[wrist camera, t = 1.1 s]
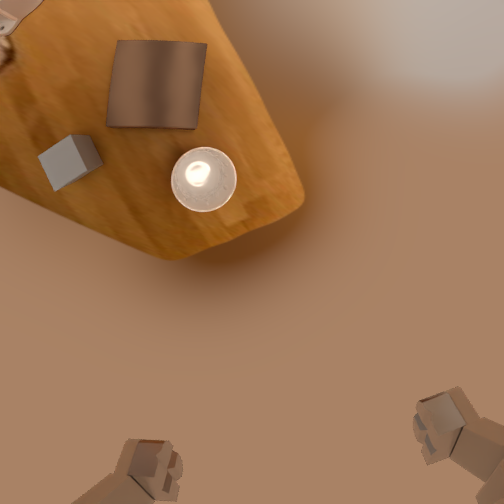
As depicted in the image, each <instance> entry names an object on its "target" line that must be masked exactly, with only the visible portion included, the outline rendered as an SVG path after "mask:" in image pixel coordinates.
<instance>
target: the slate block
mask: <svg viewBox="0 0 504 504" xmlns="http://www.w3.org/2000/svg"><path fill="white" fill-rule="evenodd" d="M38 158H39V160H40V162H41V164H42V166H43V169H44V171H45V173H46V175H47V177H48V179H49V181H50V183H51V185H52V187H53V189H54V191H57V190H59V189H61V188H63V187H65V186H67V185H69V184H71V183H73V182H75V181H77V180H78V179H80V178H82V177H83V176H85V175H86V174H88V173H90V172H91V171H93V170H95V169H96V168H98V167H100V166H101V165H103V162H102V160H101V158H100V156H99V154H98V152H97V150H96V148H95V146H94V144H93V142H92V139H91V137H90V135H69V136H67V137H66V138H64V139H63V140H61V141H60V142H58V143H57V144H55V145H54V146H52V147H51V148H49V149H48V150H47V151H45V152H44V153H42V154H41V155H39V156H38Z"/></svg>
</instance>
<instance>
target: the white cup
mask: <svg viewBox="0 0 504 504" xmlns="http://www.w3.org/2000/svg"><path fill="white" fill-rule="evenodd" d="M236 182H237V175H236V170H235V167H234V165H233V163H232V161H231V160H230V158H229V157H228V156H227V155H226V154H224V153H223V152H221V151H220V150H218V149H215V148H211V147H199V148H195V149H191V150H189V151H187V152H185V153H184V154H182V155H181V156H180V157H179V159H178V160H177V161H176V163H175V165H174V168H173V171H172V175H171V186H172V190H173V193H174V195H175V197H176V198H177V200H178V201H179V202H180V203H181V204H182V205H183V206H185V207H186V208H188V209H190V210H193V211H197V212H208V211H213V210H216V209H218V208H220V207H221V206H223V205H224V204H225V203H226V202H227V201H228V200H229V199H230V198H231V196H232V194H233V192H234V190H235V187H236Z"/></svg>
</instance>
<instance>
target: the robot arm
mask: <svg viewBox="0 0 504 504" xmlns="http://www.w3.org/2000/svg"><path fill="white" fill-rule="evenodd" d="M42 1H43V0H0V36H6V35H9V34H11V33H12V32H13V31H14V30H15V28H16V27H17V26H18V24H19V23H20V22H21V20H22V19H23V18H24V17H25V16H27V15H28V14H29V13H30V12H32V11H33V10H34V9H35V8H36V7H37V6H38V5H39V4H40V3H41V2H42ZM3 27H4V29H3ZM2 29H3V30H2ZM416 410H417V412H418V413H417V414H416V415H415V416H414V419H413V430H414V433H415V437H416V439H417V441H418V442H420V443H422V444H423V447H422V450H421V452H422V454H423V456H424V459H425V461H426V464H427V465H430V464H433V463H435V462H438V461H441V460H443V459H446V458H448V457H450V459H451V460H453V461H454V462H456V463H457V464H459V465H460V466H461V467H463V468H464V469H466V470H467V471H469V472H471V473H472V474H473V475H475V476H476V477H478V478H479V479H481V480H482V481H484V482H485V484H484V485H483V486H482V488H481V489H480V490H479V492H478V493H477V495H476V499H477V502H478V504H504V426H503V425H500V424H498V423H496V422H494V421H491V420H489V419H487V418H485V417H483V418H481V419H480V417H479V416H478V414H477V412H476V411H475V409H474V408H473V406H472V404H471V403H470V401H469V400H468V398H467V397H466V395H465V394H464V392H463V390H462V389H461V388H460V387H455V388H452V389H450V390H447V391H445V392H441V393H438V394H436V395H433V396H430V397H428V398H425V399H422V400H419V401H418V402H417V405H416ZM172 449H173V445H172V444H171V443H170V442H169V441H162V440H142V439H128V440H127V441H126V442H125V444H124V447H123V450H122V452H121V455H120V458H119V460H118V463H117V466H116V469H115V471H114V474H111V473H110V474H109V475H108V476H106V477H105V478H104V479H103V480H101V481H100V482H99V483H98V484H96V485H95V486H94V487H92V488H91V489H90V490H88V491H87V492H86V493H85V494H83V495H82V496H81V497H79V498H78V499H77V500H75V501H74V502H73V503H71V504H153V503H154V502H155V501H154V500H159V501H177V497H178V492H179V485H178V483H177V480H178V479H180V477H182V472H183V464H182V460H181V457H180V456H179V454H178V453H177V452H175V451H173V450H172Z"/></svg>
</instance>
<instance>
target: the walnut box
mask: <svg viewBox="0 0 504 504" xmlns="http://www.w3.org/2000/svg"><path fill="white" fill-rule="evenodd" d="M206 49H207V44H205V43H194V42H180V41H158V40H118V41H117V46H116V52H115V58H114V64H113V70H112V77H111V85H110V92H109V101H108V110H107V120H106V126H107V127H111V128H160V129H183V130H195V129H197V123H198V114H199V105H200V96H201V87H202V79H203V71H204V64H205V57H206Z"/></svg>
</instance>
